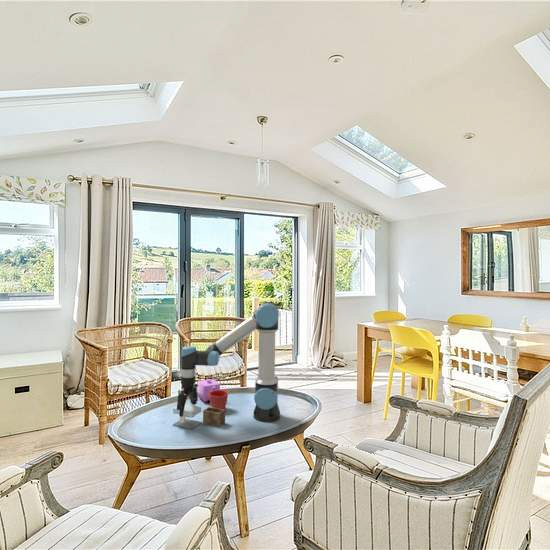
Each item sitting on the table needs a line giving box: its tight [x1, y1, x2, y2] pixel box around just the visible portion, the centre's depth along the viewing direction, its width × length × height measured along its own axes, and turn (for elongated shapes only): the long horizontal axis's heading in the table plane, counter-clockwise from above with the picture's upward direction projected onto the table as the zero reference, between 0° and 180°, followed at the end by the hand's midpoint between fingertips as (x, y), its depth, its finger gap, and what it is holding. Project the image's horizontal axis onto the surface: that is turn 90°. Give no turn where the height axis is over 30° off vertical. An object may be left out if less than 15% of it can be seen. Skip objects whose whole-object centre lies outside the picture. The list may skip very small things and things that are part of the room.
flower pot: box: [209, 390, 229, 411], centre depth 217 cm, size 11×11×10 cm
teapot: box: [197, 378, 221, 404], centre depth 232 cm, size 20×10×12 cm, turn 28°
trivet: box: [172, 418, 203, 430], centre depth 195 cm, size 12×9×1 cm
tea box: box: [202, 406, 226, 428], centre depth 197 cm, size 10×6×7 cm, turn 68°
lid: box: [172, 403, 202, 418], centre depth 195 cm, size 12×8×4 cm, turn 68°
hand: (187, 419), depth 195 cm, fingers closed on lid, 8 cm apart
